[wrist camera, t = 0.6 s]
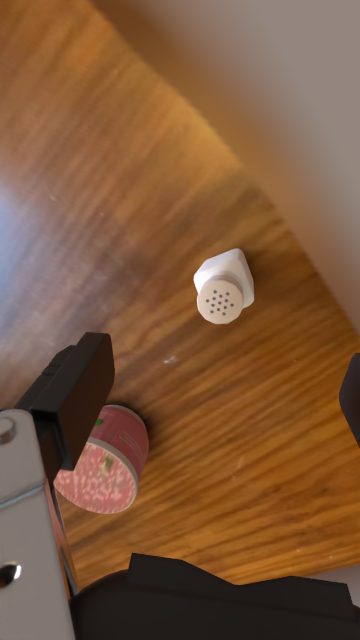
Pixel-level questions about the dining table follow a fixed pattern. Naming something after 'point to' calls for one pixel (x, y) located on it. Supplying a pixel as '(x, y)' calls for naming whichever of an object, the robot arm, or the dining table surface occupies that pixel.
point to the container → (108, 463)
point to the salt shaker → (224, 287)
